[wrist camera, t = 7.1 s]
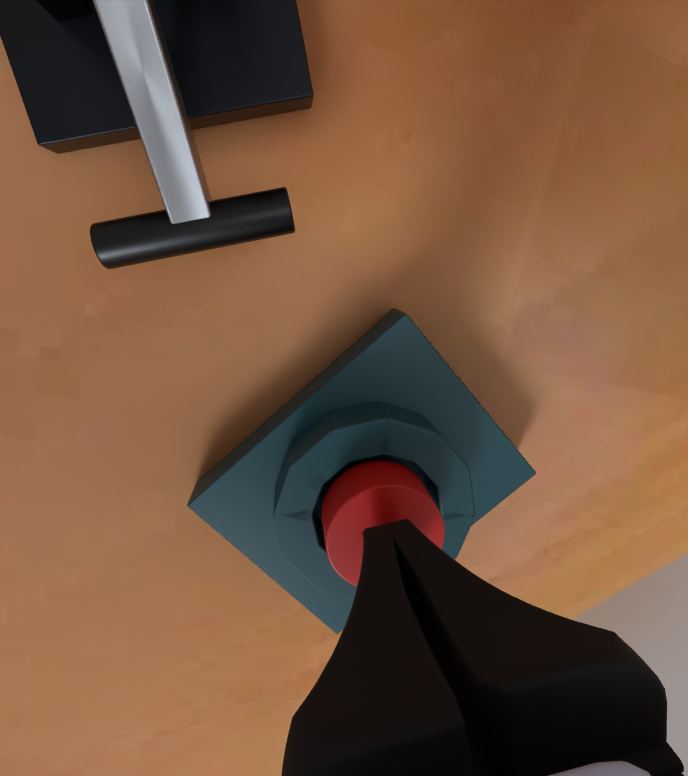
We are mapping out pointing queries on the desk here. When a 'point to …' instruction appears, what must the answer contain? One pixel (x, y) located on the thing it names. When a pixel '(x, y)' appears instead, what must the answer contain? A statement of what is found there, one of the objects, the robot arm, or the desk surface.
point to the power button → (374, 511)
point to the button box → (358, 460)
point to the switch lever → (171, 157)
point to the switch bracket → (188, 55)
